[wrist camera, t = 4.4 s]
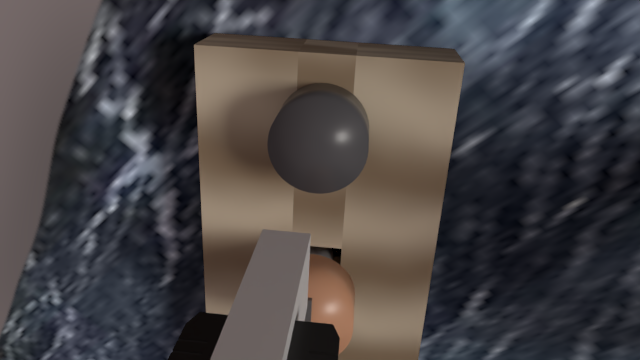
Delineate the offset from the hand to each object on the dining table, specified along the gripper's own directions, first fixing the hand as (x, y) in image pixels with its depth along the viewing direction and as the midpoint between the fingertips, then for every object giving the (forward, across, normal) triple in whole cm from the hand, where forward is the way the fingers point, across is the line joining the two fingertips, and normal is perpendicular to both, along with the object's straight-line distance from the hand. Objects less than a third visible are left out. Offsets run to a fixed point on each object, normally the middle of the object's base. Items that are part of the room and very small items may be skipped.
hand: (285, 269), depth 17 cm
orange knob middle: (+15, 0, +9) cm, 17 cm away
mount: (+18, 0, +9) cm, 20 cm away
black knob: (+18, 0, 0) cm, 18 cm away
